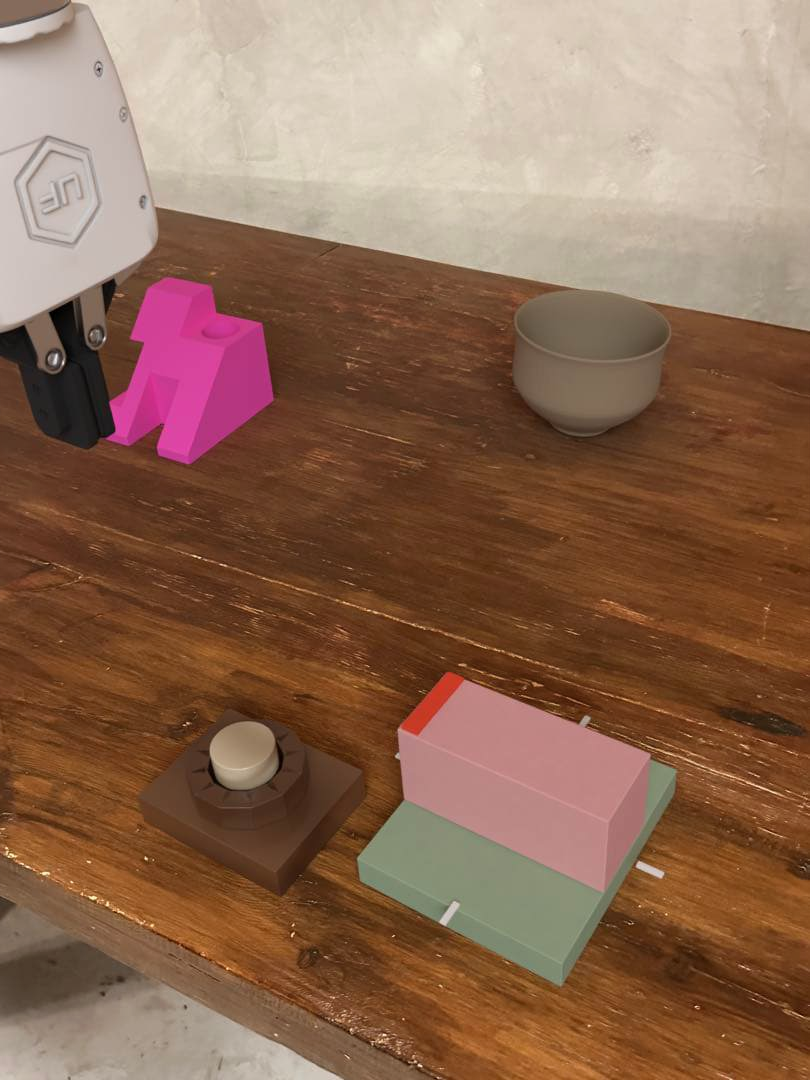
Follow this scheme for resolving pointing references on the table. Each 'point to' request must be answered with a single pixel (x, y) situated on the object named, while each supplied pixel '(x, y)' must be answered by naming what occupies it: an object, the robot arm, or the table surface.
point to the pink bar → (525, 779)
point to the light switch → (255, 807)
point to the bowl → (588, 358)
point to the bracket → (191, 372)
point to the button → (244, 755)
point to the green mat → (499, 883)
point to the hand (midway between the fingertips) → (79, 433)
